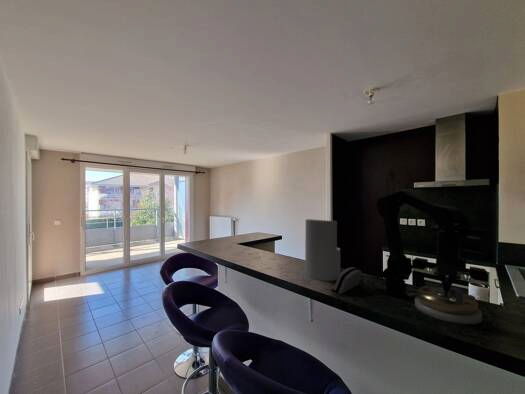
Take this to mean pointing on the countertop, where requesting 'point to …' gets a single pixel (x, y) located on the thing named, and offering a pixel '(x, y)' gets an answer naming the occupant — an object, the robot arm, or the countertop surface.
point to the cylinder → (322, 250)
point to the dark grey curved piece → (347, 280)
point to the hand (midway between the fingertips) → (446, 295)
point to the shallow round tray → (448, 300)
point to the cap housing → (449, 314)
